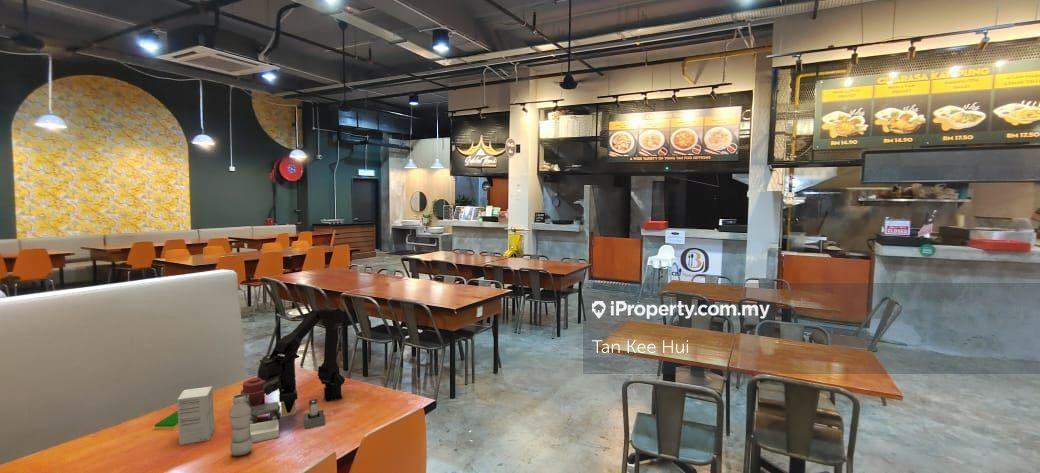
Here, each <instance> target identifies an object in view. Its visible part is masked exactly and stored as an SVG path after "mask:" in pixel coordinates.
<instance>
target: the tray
mask: <svg viewBox="0 0 1040 473" xmlns="http://www.w3.org/2000/svg"><path fill="white" fill-rule="evenodd" d="M279 429H280V428H279V421H278V419H276V420H271V421H269V420H267V421H262V422H257V423H256V424H250V432H251V438H252V442H253V444H256V443H259V442H265V441H269V440H273V439H277V438H278V439H279V438H280V435H279V434H280V431H279Z"/></svg>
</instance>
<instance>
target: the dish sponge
mask: <svg viewBox="0 0 1040 473" xmlns="http://www.w3.org/2000/svg"><path fill="white" fill-rule="evenodd" d="M177 428H179V425H178V410H176V411H175V412H173V413H171V414H170V415H168V416H166V417H165V418H162V419H161V420H160V421H158V422H157V423H155V424H154V431H174V430H175V429H177Z"/></svg>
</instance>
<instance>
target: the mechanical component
mask: <svg viewBox="0 0 1040 473" xmlns="http://www.w3.org/2000/svg"><path fill="white" fill-rule="evenodd" d="M264 384H266V381H263V380H262V379H261V378H257V377H251V378H250V379H248V380H246V381H244V382H243V383H242V389H241V391H240V394H245V395H246V397H247V395H249V405H250V407H251V406H257V405H262V404H266V400H265V399H266V397H265V396H266V394H265V393H264V390H263V385H264Z"/></svg>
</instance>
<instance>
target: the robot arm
mask: <svg viewBox="0 0 1040 473" xmlns="http://www.w3.org/2000/svg"><path fill="white" fill-rule="evenodd" d="M343 318H344V313H343V310H342V309H341V308H335V307H326V308H324V309H315V308H314V309H312V310H310V312H309V313H308V314H307V316H306V317H305V318H304V319H303V320H302V321H301V322H300V323H299V324H298V325H297V326H296V327H295V328H294V329H293V331H291V332H290V333H288V334H287V335H283V337H281V338H280V339H278V341H277V342H276V343H275V345H274V348H273V350H272V351H271V355H270V357H269V359H271V360H269V361H264V362H262V366H260V368H259V367H258V368H259V370H258V369H257V372H258V375H259V377H260V378H261V379H262V380H263V381H266V380H268V379H271V378H273V377H276V376H278V378H277V379H274V380H272V381H270V382H268V383H266V384H264V385H263V390H264V393H265V396H269V395H270V394H271V393H272V394H273V393H274V392H276V391H278V392H279V393H278V397H279V398H278V399H279V400H278V403H281V402H284V404H285V407H286V410H287V413H290V412H291V409H292V407H293V404H294V402H295V403H296V400H298V391H297V382H296V381H297V380H296V364H295V363H296V362H295V360H296V359H298V358H300V355H299V354H297V351H298V350H299V349H300V347H301V343H302V341H303V339H304V338H305V337H306V336H307V335H308V333H310V332H311V330H312V329H313V328H314V327H316V325H317V324H318V323H319V322H320V321H322V324H323V326H324V328H325V334H324V336H325V337H324V355H323V362H322V363H321V365H319V366H318V367H317V374H316V375H317V376H318V380H320V382H321V384H322V385H324V387H323V398H324V400H325V401H326V402H330V401H334V400H336V401H337V400H340V399H341V400H342V399H343V396H342V386H343V385H344V384H345V382H346V378H345V377H344V376H342V375H341V373H340V372H341V370H340V367H339V365H338V363H337V350H338V335H339V334H338V332H339V331H338V330H339V328H340V326H341V324H342V323H343V322H342V321H343Z"/></svg>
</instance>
